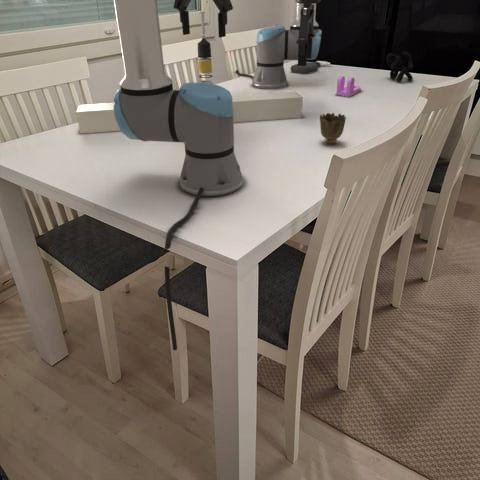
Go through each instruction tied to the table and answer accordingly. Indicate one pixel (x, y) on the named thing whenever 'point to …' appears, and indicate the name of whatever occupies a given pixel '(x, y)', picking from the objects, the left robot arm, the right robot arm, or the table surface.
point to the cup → (332, 127)
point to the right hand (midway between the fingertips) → (304, 62)
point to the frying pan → (308, 67)
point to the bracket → (349, 89)
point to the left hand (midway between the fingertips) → (203, 35)
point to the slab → (244, 108)
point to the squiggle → (399, 66)
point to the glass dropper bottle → (204, 55)
